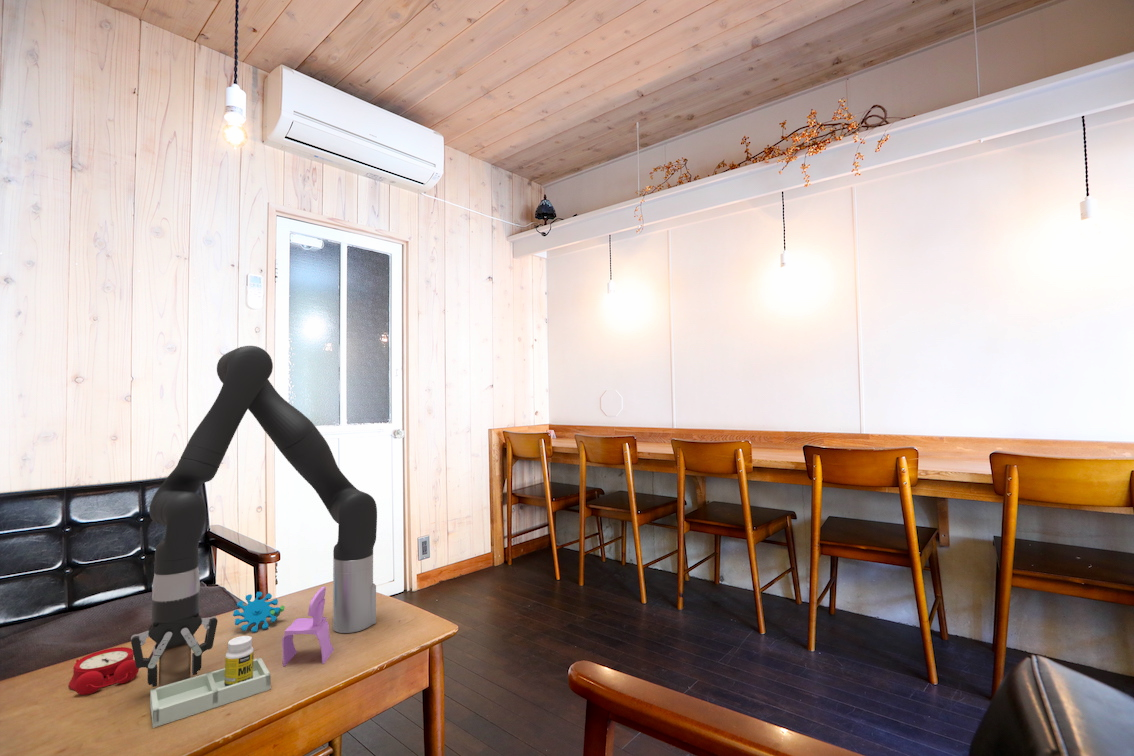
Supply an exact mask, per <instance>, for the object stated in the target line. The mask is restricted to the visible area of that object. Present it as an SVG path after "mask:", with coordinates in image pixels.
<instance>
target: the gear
mask: <svg viewBox="0 0 1134 756" xmlns="http://www.w3.org/2000/svg"><path fill="white" fill-rule="evenodd" d="M255 596H256V597H255V598H254V600H252V597H253V595H252V594H246V595H245V597H244V598H245V600H246V602H247V604H246V605H244V601H243V600H240V601H238V602H237V603H236V607H237V608H240V609H242V612H240V610H239V609H234V611H233V613H232V616H233V617H237V618H235V619H234V625H235V626H238V625H240V624H242V623H245V624H242V625H241V626H240V630H241V631H242V632H246V631H247V629H248V628H249V627H251V626H252V625H254V626H252V628H251V630H250V632H251V633H257V632H258V627H259V625H260V623H263V624H262V627H261V629H262V630H266V629H268V628H269V623H268V622H267V618H268V619H270V621H269V622H270V623H275V622H276V621H277V619H278V617H279V616H280V615H281V613H283V612H284V611H285V609H286V607H285V605H283V604H282V605H280V607H279V606H277V605H278V602H279V601H278V598H274V599H273V600H271V599H272V597H273V596H272V594H271V593H270V592H268V593H266V595H265V596H264V597H263V598H262V596H263V592H262V591H256V594H255ZM260 598H262V599H260ZM251 600H252V601H251ZM266 600H271V601H266ZM270 605H273V606H277V607H273V606H270ZM239 617H242V619H241V618H239ZM246 623H247V624H246Z"/></svg>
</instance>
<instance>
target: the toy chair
mask: <svg viewBox="0 0 1134 756" xmlns="http://www.w3.org/2000/svg"><path fill="white" fill-rule="evenodd" d="M325 596H326V586H325V585H324V586H322V587H320V588H319V589H318V591H317V592H316V593H315V594H314V595H313V597H312V599H311V600H310V603H309V604H308V605H309V607H308V613H307V616H308V617H309V618H307V617H299V618H298V617H297V618H296V619H295V620H294V621H293V622H292V623H291V624H290V625H289V626H288V627H287V628H286V629H285V630H284V635H283V636H282V638H281V646H282V649H281V650H282V667H286V666H287V665H288V663H289V662H290V661H291V660H292V659H293V657H294V656H295V655H296V654H297V652H298V651H297V649H296V647H295V644H294V635H314V636H315V637H316V639H317V640H318V643H319V647H320V650H321V664H322V665H324V664H325V663H326V661H327V660H329V657H331V656H332V654H333V652H334V651H335V650H334V647H333V645H332V642H331V639H330V629H329V628H330V626H329V622H328V620H327V616H324V611H325V610H324V608H325V605H326V603H325V602H326V598H325Z"/></svg>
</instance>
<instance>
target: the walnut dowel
mask: <svg viewBox="0 0 1134 756" xmlns="http://www.w3.org/2000/svg"><path fill="white" fill-rule="evenodd" d="M158 662H159V663H158V670H159V671H158V687H161V686H165V685H168V684H171V683H175V682H178V681H182V680H185V679H189V678H192V677H191V674H192V649H191V648H190V646H189V645H188V643H187V642H186V644H183V645H175V646H173V647H171V648H167V649H166V648H165V649H164V651H163V653H162V655H161V656H160V658H159V660H158Z"/></svg>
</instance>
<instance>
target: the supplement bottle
mask: <svg viewBox="0 0 1134 756" xmlns="http://www.w3.org/2000/svg"><path fill="white" fill-rule="evenodd" d="M252 645H253V637H252V636H251V635H241V636H236V637H234V638H232V639H230V640H229V641H228V643H227V651H226V652H225V653H226V654H225V655H224V656H225V657H224V658H225V659H224V660H225V661H224V668H225V683H224V686H225V687H226V686H230V685H233V684H236V683H239V682H242V681H246V680H249V679H252V678H253V660H254V652H255V651H254V650H255V649H254V647H253V646H252Z"/></svg>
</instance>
